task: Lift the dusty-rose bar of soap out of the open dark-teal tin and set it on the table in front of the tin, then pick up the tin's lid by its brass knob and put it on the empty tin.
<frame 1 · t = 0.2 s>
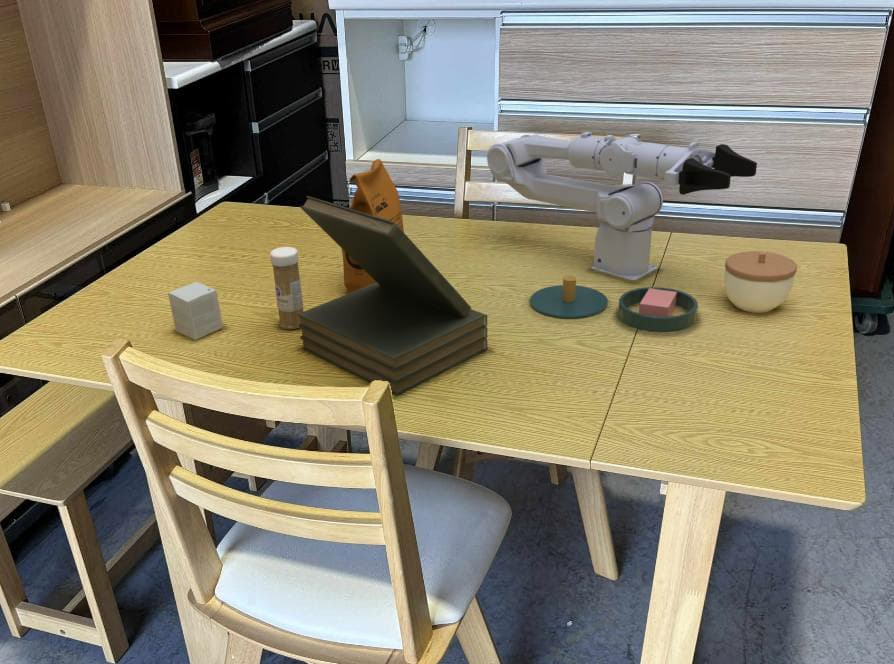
hand: (742, 175, 136), 21 cm above the table, tool horizontal, fingers open, 7 cm apart
coffee package: (375, 285, 163), on the table
product box: (199, 331, 150), on the table
trinket box: (753, 307, 144), on the table
sprinkles bottle: (293, 325, 150), on the table
lid: (568, 302, 149), point 1 cm above the table
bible: (393, 350, 139), on the table
tin: (656, 318, 143), on the table
soap: (656, 316, 143), resting on tin
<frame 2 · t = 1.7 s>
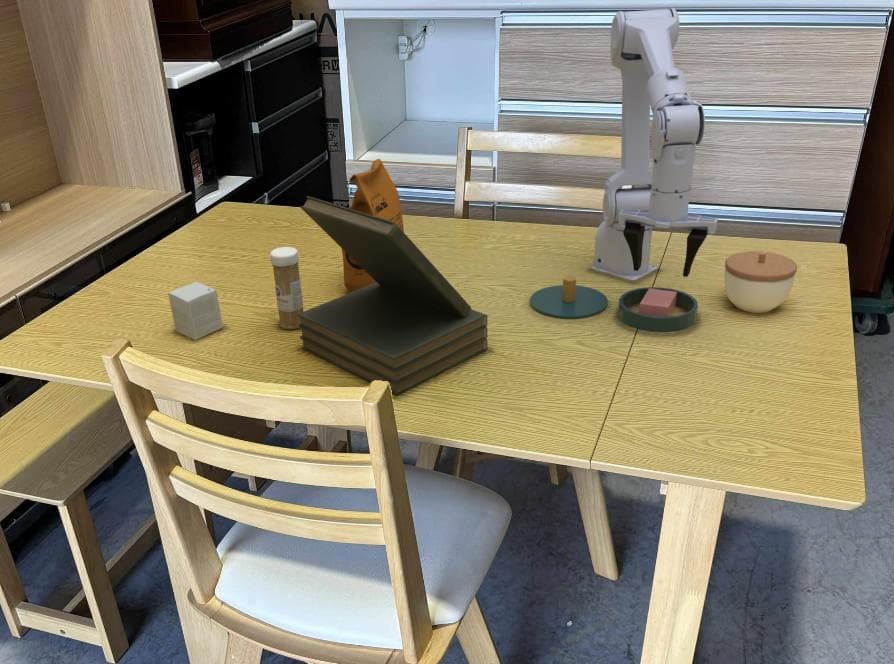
hand: (661, 271, 138), 8 cm above the table, tool pointing down, fingers open, 7 cm apart
nothing on the table moved.
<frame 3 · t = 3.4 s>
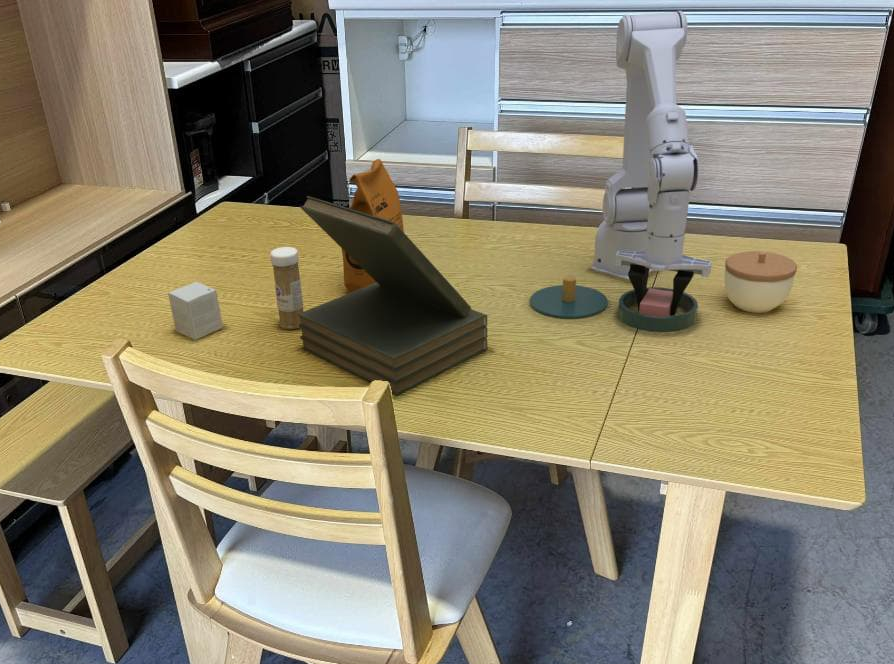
hand: (657, 310, 142), 1 cm above the table, tool pointing down, fingers closed on soap, 4 cm apart
soap: (656, 316, 143), resting on tin, touching gripper
everything else where it was.
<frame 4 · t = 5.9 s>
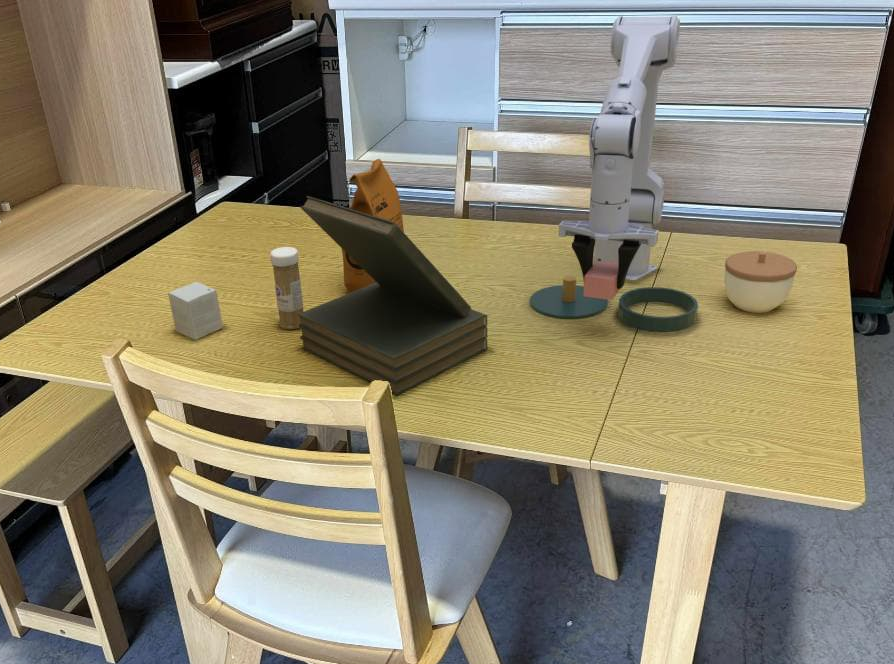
hand: (603, 284, 135), 9 cm above the table, tool pointing down, fingers closed on soap, 4 cm apart
soap: (603, 290, 135), point 8 cm above the table, touching gripper
everything else where it was.
when the fingers open (1 cm above the table, at t = 8.3 s): soap stays where it is, on the table.
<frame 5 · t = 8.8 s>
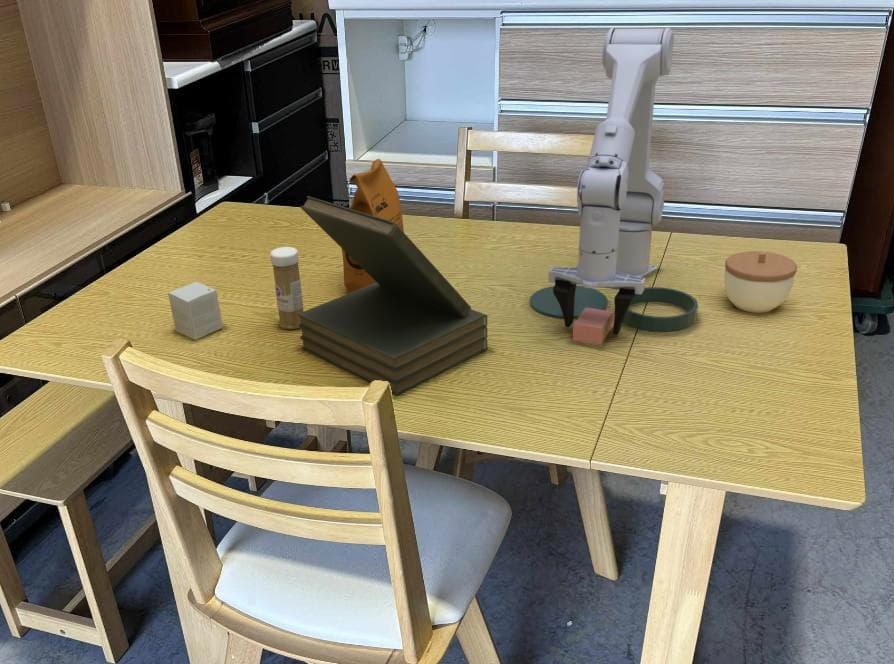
hand: (592, 328, 138), 1 cm above the table, tool pointing down, fingers open, 7 cm apart
soap: (592, 336, 139), on the table
everything else where it was.
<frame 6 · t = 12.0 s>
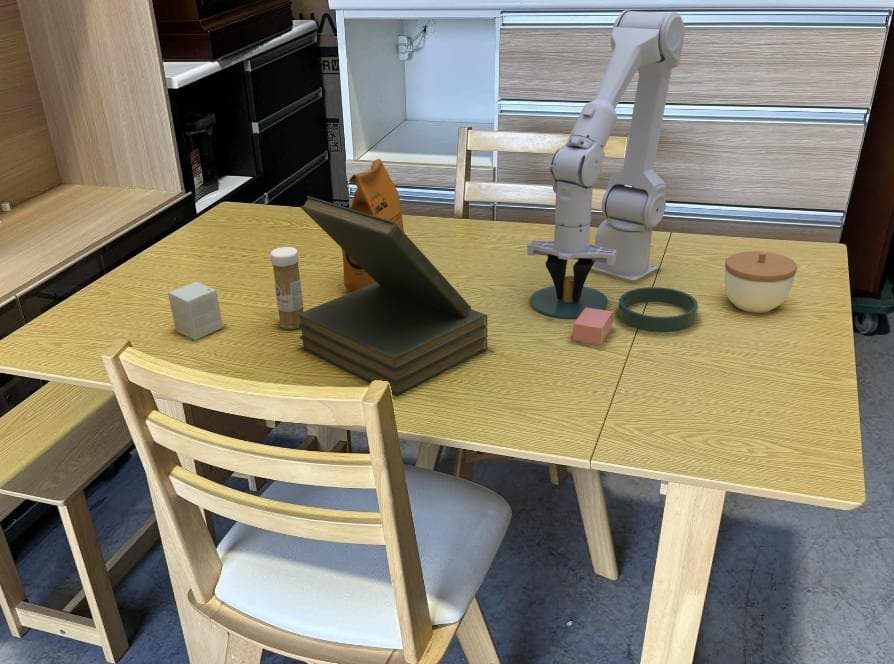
hand: (568, 298, 148), 1 cm above the table, tool pointing down, fingers closed on lid, 2 cm apart
lid: (568, 302, 149), point 1 cm above the table, touching gripper
everything else where it was.
when the fingers open (4 cm above the table, at t = 16.3 s): lid stays where it is, resting on tin.
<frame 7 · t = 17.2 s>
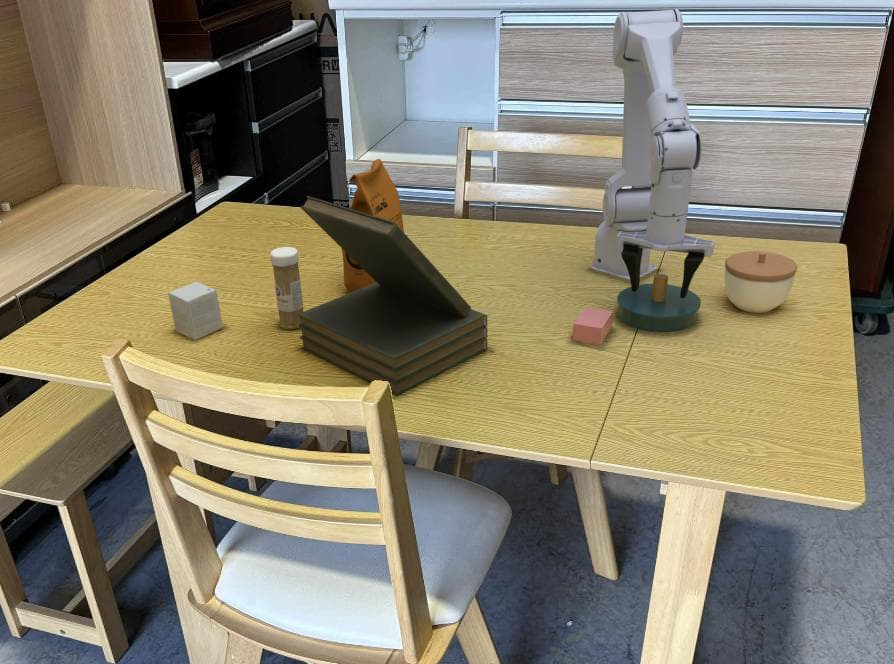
hand: (659, 292, 140), 5 cm above the table, tool pointing down, fingers open, 7 cm apart
lid: (658, 302, 141), point 3 cm above the table, touching tin
everything else where it was.
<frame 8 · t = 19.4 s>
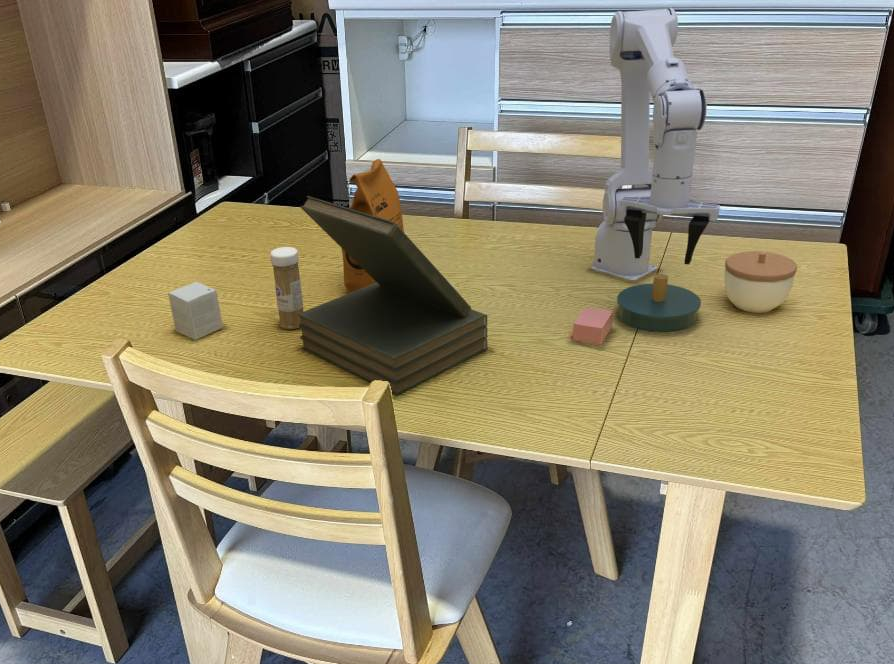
hand: (662, 259, 137), 10 cm above the table, tool pointing down, fingers open, 7 cm apart
nothing on the table moved.
at the end: soap inside the target area (0.1 cm from its centre), on the table; lid 0.1 cm off-centre on the tin, point 3.0 cm above the tin's base; lid tilted 0° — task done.
